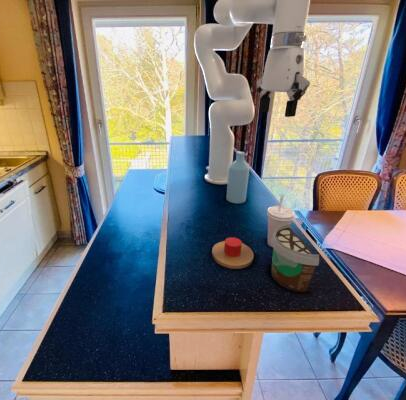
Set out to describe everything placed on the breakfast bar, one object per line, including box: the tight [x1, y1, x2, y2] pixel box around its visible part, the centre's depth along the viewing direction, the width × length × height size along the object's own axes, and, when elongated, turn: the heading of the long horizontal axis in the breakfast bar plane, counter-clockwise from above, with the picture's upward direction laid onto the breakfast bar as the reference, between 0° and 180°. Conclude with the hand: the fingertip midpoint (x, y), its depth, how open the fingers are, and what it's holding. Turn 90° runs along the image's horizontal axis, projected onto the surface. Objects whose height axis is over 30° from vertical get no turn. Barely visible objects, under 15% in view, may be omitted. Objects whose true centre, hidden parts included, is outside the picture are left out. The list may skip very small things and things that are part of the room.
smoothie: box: [266, 194, 295, 248], centre depth 66 cm, size 6×6×14 cm
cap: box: [224, 237, 243, 257], centre depth 64 cm, size 4×4×3 cm
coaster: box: [211, 240, 255, 270], centre depth 65 cm, size 10×10×1 cm
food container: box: [270, 224, 320, 293], centre depth 56 cm, size 12×6×10 cm, turn 4°
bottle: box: [225, 151, 250, 204], centre depth 91 cm, size 7×7×17 cm
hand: (276, 114), depth 73 cm, fingers open, 9 cm apart
